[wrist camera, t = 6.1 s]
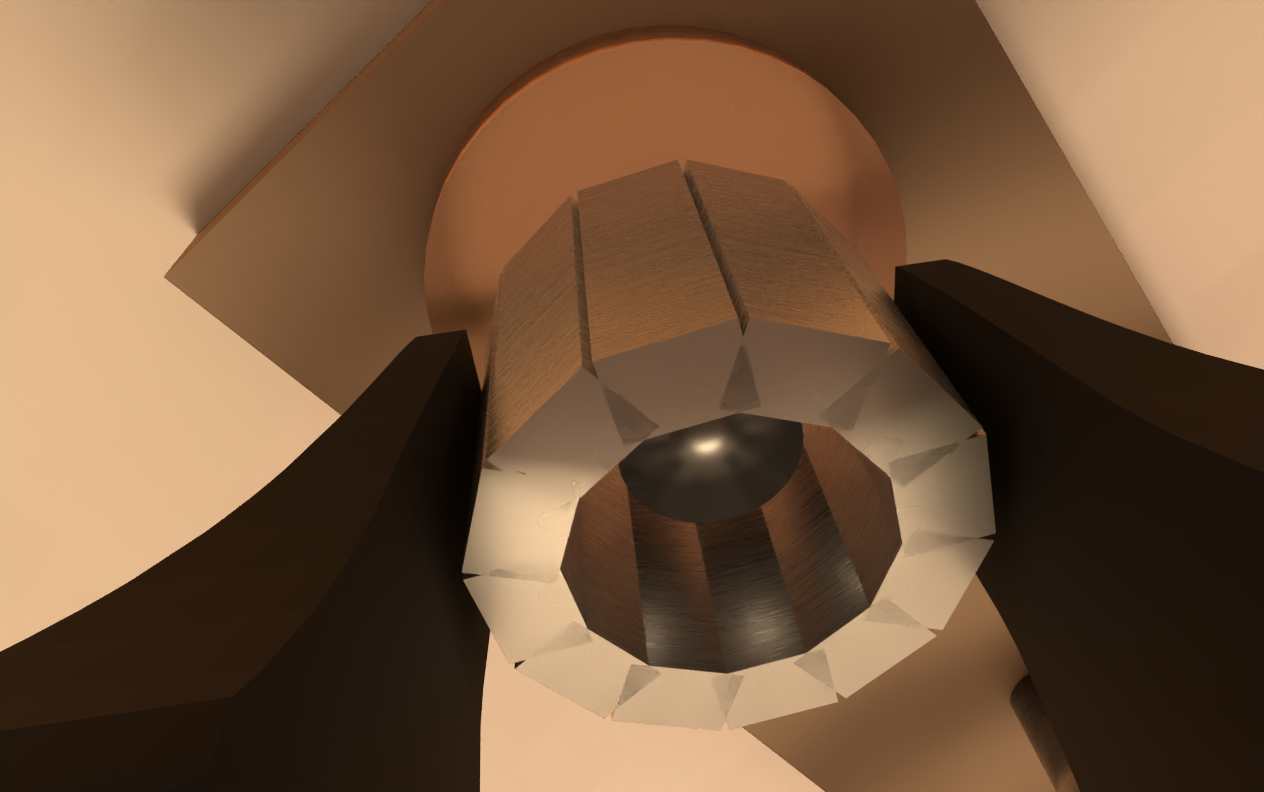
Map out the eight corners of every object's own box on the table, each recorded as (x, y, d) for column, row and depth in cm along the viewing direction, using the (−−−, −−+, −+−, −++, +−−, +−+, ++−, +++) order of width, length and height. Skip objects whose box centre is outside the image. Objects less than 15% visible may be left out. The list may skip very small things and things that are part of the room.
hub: (959, 90, 13) (1149, 220, 9) (797, 474, 16) (881, 694, 12) (469, -34, 12) (433, 51, 7) (405, 413, 15) (355, 637, 11)
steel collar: (927, 210, 11) (1086, 378, 8) (796, 519, 14) (876, 744, 11) (526, 124, 10) (518, 274, 7) (464, 472, 13) (436, 704, 10)
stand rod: (1107, 667, 20) (1223, 842, 16) (1067, 722, 21) (1169, 898, 17) (1033, 658, 20) (1136, 835, 16) (996, 714, 20) (1086, 893, 17)
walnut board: (1314, 622, 22) (1362, 671, 21) (918, 826, 25) (938, 880, 24) (754, -321, 11) (781, -337, 10) (195, 236, 15) (163, 276, 13)
